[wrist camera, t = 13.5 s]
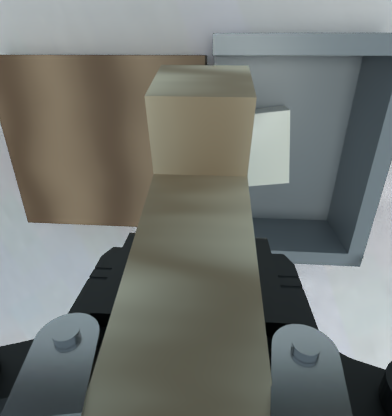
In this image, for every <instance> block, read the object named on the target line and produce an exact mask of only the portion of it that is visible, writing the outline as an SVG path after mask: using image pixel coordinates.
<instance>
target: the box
mask: <svg viewBox="0 0 392 416" xmlns="http://www.w3.org/2000/svg"><path fill="white" fill-rule="evenodd" d="M212 55H214V65H234V66H249V69H250V73H251V77H252V81H253V85H254V89H255V93H256V97H257V99H256V108H255V109H257V108H266V107H275V106H284V105H285V106H286V107H287V108H288V109H290V160H289V183H284V184H271V185H259V186H249V194H250V202H251V211H252V219H253V227H254V236H255V237H256V238H267V239H268V243H269V246H270V250H271V253H272V254H284V255H285V256H286V257H287V258H288V259H289V260H290V261H291V262H292V263H293V264H315V265H336V266H358V267H360V265H361V261H362V258H363V255H364V251H365V248H366V245H367V241H368V238H369V234H370V231H371V228H372V224H373V221H374V218H375V214H376V211H377V208H378V204H379V201H380V197H381V194H382V191H383V187H384V184H385V181H386V177H387V174H388V171H389V167H390V164H391V161H392V33H213V50H212Z"/></svg>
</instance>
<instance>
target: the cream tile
mask: <svg viewBox="0 0 392 416" xmlns="http://www.w3.org/2000/svg"><path fill="white" fill-rule="evenodd" d="M289 160H290V109H288V108H287V107H286V106H285V105H284V106H275V107H266V108H257V109H255V116H254V125H253V133H252V142H251V150H250V159H249V167H248V176H247V177H248V186H259V185H271V184H284V183H289Z"/></svg>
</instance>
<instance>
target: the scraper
mask: <svg viewBox="0 0 392 416" xmlns="http://www.w3.org/2000/svg"><path fill="white" fill-rule="evenodd" d="M144 97H145V105H146V114H147V122H148V131H149V139H150V148H151V156H152V165H153V173H154V174H153V178H152V181H151V184H150V187H149V191H148V194H147V197H146V200H145V204H144V207H143V210H142V214H141V217H140V220H139V223H138V227H137V230H136V233H135V237H134V240H133V243H132V246H131V250H130V253H129V256H128V260H127V263H126V266H125V269H124V273H123V276H122V279H121V282H120V286H119V289H118V292H117V296H116V299H115V302H114V305H113V309H112V312H111V315H110V319H109V322H108V325H107V328H106V332H105V335H104V338H103V341H102V345H101V348H100V351H99V355H98V358H97V361H96V364H95V368H94V371H93V374H92V378H91V381H90V384H89V387H88V392H87V398H86V405H85V411H84V416H270V396H271V385H272V378H271V370H270V362H269V353H268V345H267V336H266V328H265V320H264V311H263V303H262V294H261V286H260V278H259V269H258V261H257V253H256V244H255V236H254V227H253V219H252V211H251V202H250V194H249V186H248V177H247V176H248V167H249V159H250V150H251V142H252V133H253V125H254V116H255V108H256V99H257V97H256V93H255V89H254V85H253V81H252V77H251V73H250V69H249V66H234V65H161V66H160V68H159V70H158V72H157V74H156V75H155V77H154V79H153V81H152V83H151V85H150V87H149V89H148V90H147V92H146V94H145V96H144Z"/></svg>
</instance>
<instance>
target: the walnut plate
mask: <svg viewBox="0 0 392 416" xmlns="http://www.w3.org/2000/svg"><path fill="white" fill-rule="evenodd" d="M161 65H207V55H0V122H1V126H2V129H3V133H4V137H5V140H6V144H7V147H8V151H9V155H10V158H11V162H12V166H13V169H14V173H15V176H16V180H17V184H18V187H19V191H20V194H21V198H22V202H23V205H24V209H25V213H26V216H27V220H28V222H32V223H57V224H82V225H107V226H132V227H138V223H139V220H140V217H141V214H142V210H143V207H144V204H145V200H146V197H147V194H148V191H149V187H150V184H151V181H152V178H153V174H154V173H153V165H152V156H151V148H150V139H149V131H148V122H147V114H146V105H145V97H144V96H145V94H146V92H147V90H148V89H149V87H150V85H151V83H152V81H153V79H154V77H155V75H156V74H157V72H158V70H159V68H160V66H161Z"/></svg>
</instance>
